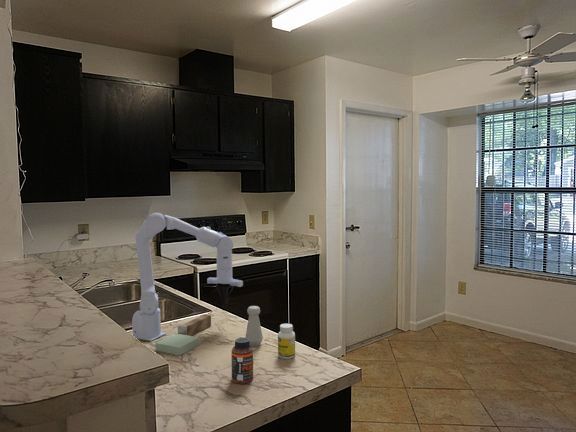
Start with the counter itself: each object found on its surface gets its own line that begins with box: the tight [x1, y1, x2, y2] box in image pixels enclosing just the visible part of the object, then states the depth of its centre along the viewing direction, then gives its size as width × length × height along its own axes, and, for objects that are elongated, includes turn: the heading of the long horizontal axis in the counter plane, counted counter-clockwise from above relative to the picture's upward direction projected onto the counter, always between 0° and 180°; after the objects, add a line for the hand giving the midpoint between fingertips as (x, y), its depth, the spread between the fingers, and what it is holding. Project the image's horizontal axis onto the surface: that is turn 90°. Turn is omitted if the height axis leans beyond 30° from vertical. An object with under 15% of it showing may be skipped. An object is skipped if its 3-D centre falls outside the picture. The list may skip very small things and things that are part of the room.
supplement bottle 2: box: [277, 323, 296, 360], centre depth 136 cm, size 5×5×10 cm
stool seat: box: [155, 332, 200, 356], centre depth 144 cm, size 10×10×2 cm
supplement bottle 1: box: [231, 337, 254, 385], centre depth 119 cm, size 6×6×11 cm
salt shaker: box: [244, 305, 264, 348], centre depth 145 cm, size 6×6×13 cm
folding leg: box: [177, 314, 212, 336], centre depth 158 cm, size 17×3×4 cm, turn 155°
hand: (225, 303), depth 162 cm, fingers closed
